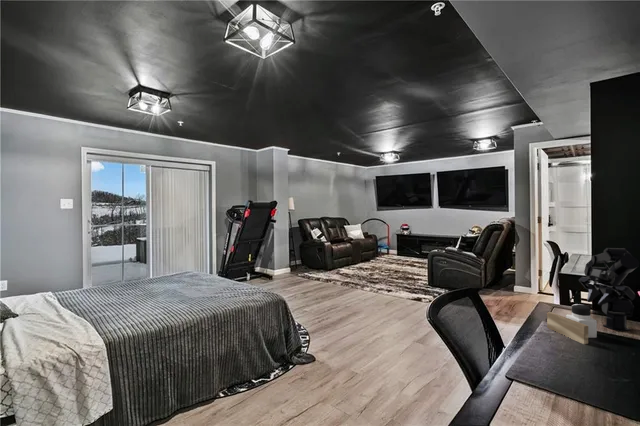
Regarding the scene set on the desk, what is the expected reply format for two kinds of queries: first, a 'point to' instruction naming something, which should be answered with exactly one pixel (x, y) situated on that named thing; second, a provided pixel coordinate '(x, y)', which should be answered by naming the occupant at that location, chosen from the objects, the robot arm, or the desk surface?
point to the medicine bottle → (584, 318)
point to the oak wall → (568, 327)
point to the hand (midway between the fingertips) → (593, 303)
